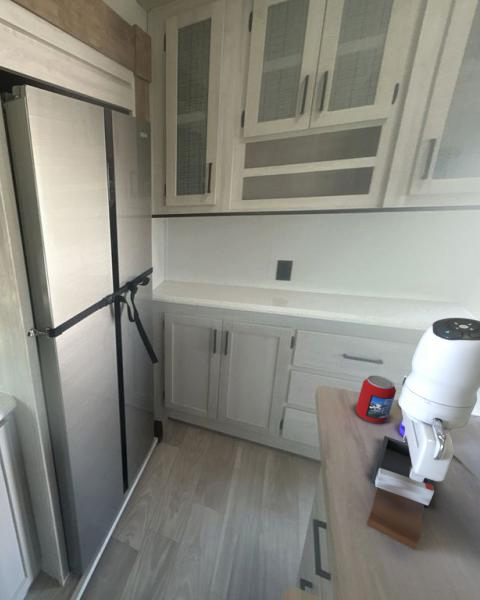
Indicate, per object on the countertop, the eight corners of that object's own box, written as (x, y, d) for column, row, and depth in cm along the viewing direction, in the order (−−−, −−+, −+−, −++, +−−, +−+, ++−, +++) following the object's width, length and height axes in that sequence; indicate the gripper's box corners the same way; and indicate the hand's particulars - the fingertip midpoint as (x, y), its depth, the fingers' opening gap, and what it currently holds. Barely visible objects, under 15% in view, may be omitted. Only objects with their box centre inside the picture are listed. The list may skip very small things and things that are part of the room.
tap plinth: (414, 550, 62) (420, 536, 61) (366, 524, 67) (371, 511, 66) (419, 508, 69) (425, 495, 67) (375, 488, 74) (380, 475, 72)
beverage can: (374, 427, 89) (385, 391, 84) (349, 411, 95) (358, 377, 91) (392, 421, 90) (404, 385, 86) (367, 405, 96) (376, 371, 92)
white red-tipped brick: (375, 486, 70) (380, 472, 68) (374, 480, 71) (379, 466, 70) (428, 505, 65) (434, 491, 64) (427, 499, 66) (433, 484, 65)
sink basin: (381, 446, 84) (384, 435, 82) (431, 466, 77) (436, 454, 76) (371, 482, 75) (374, 471, 74) (427, 508, 69) (432, 496, 67)
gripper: (475, 450, 50) (446, 511, 55) (446, 379, 65) (425, 433, 70) (418, 434, 54) (395, 493, 59) (403, 370, 69) (386, 422, 74)
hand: (411, 460), depth 65 cm, fingers open, 8 cm apart
